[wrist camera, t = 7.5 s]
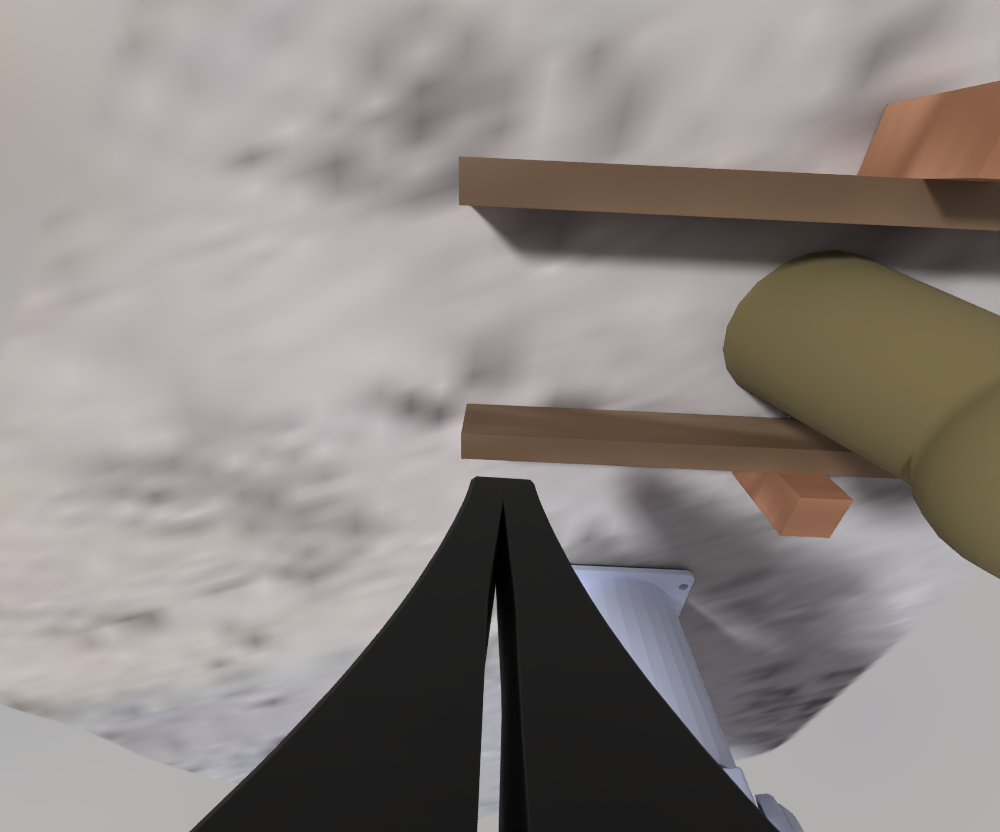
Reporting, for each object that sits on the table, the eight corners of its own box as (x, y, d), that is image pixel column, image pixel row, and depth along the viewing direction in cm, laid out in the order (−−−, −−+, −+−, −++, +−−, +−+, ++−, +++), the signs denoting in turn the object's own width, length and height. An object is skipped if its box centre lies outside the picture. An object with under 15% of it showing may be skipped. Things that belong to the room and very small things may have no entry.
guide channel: (895, 480, 20) (977, 544, 16) (467, 461, 20) (457, 521, 16) (1144, 116, 12) (1391, 90, 9) (466, 84, 12) (450, 44, 9)
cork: (926, 286, 15) (1642, 464, 5) (809, 416, 18) (1146, 679, 8) (793, 223, 14) (1379, 305, 5) (693, 370, 17) (924, 608, 7)
